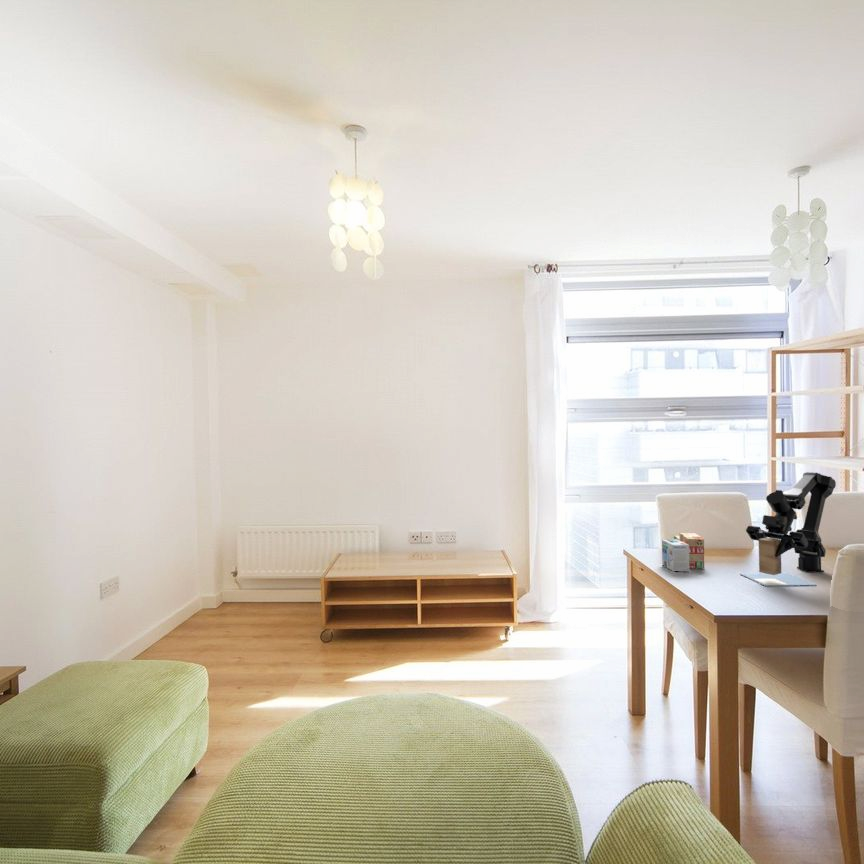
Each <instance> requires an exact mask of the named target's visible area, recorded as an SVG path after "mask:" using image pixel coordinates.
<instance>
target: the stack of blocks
mask: <svg viewBox="0 0 864 864" xmlns="http://www.w3.org/2000/svg"><path fill="white" fill-rule="evenodd" d="M674 539H677V540H679V541H682V542H684V543H686V544H688V545H689V569H695V568H704V569H705V538H703V537H702V536H700V535H699V534H697V533H695V532H679V535H673V540H674Z"/></svg>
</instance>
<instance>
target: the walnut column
mask: <svg viewBox="0 0 864 864" xmlns="http://www.w3.org/2000/svg"><path fill="white" fill-rule="evenodd" d="M780 542H781V540H780V539H774V538H769V537H767V538H761V539H759V541H758V565H759V567H758V568H759V570H758V572H759V573H766V574H771V575H777V574H780V573H782V554H781V555H780V556H778V557H776V556H775V554H776V551H777V549H778V547H779V545H780Z"/></svg>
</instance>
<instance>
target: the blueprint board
mask: <svg viewBox="0 0 864 864" xmlns="http://www.w3.org/2000/svg"><path fill="white" fill-rule="evenodd" d="M739 575H740V576H742V577H744V578H746V579H748V580H750V579H751V581H752V580H753V582H755V583H757V584H759V583H760V584H759V585H761V584H762V585H761V586H763V585H764V587H795V586H794V585H797V586H796V587H801V586H800V585H809V586H808V587H816V586H817V584H815V583H813V582H811V581H808V580H806V579H803V578H801V577H798V576H797V575H793V574H791V573H789V572H781V573H780V574H777V575H771V574H766V573H761V572H759V573H757V572H755V573H740V574H739ZM788 585H789V586H788Z"/></svg>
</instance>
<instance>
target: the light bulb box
mask: <svg viewBox="0 0 864 864" xmlns="http://www.w3.org/2000/svg"><path fill="white" fill-rule="evenodd" d="M661 552H662V553H661V555H662V557H661V559H662V560H661V561H662V564H663V565H664V566H663V565H662V566H663V567H665V566H666V567H667V568H666V567H665V568H666V569H668V568H669V569H670V570H669V569H668V570H669V571H671V570H672V571H671V572H673V571H686V572H687V571H689V572H690V568H689V545H688V544H686V543H684V542H682V541H679V540H677V539H674V538H673V539H662V540H661ZM686 572H685V573H686Z"/></svg>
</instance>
